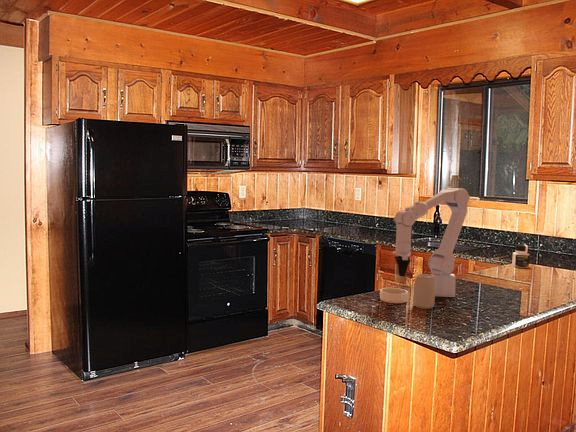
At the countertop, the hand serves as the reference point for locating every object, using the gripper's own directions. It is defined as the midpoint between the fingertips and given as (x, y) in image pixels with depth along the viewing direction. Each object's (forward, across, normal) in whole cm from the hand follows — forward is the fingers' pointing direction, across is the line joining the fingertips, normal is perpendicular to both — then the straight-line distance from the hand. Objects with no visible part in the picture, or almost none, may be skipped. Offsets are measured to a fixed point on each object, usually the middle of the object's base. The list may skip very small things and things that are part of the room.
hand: (401, 275), depth 217 cm
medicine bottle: (+8, -84, +74) cm, 112 cm away
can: (+9, +13, +7) cm, 17 cm away
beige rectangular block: (+2, 0, 0) cm, 3 cm away
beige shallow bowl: (+9, +4, -3) cm, 10 cm away
